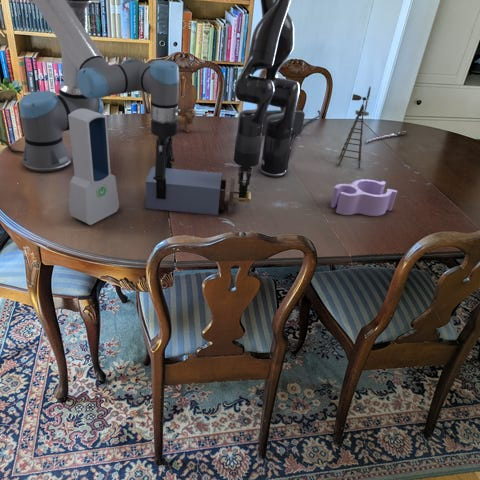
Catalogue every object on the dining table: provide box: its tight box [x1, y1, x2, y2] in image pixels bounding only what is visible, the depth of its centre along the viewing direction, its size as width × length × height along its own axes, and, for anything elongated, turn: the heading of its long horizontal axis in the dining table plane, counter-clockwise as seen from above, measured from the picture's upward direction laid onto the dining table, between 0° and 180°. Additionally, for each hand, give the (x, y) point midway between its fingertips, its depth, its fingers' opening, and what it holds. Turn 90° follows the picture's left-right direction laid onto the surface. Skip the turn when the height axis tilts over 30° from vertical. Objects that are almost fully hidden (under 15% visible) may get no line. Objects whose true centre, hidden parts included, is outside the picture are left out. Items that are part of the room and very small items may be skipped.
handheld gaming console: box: [262, 109, 306, 136], centre depth 203 cm, size 23×3×10 cm, turn 108°
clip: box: [330, 178, 398, 217], centre depth 152 cm, size 20×12×7 cm, turn 109°
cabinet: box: [144, 166, 223, 216], centre depth 143 cm, size 22×11×9 cm, turn 89°
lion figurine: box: [177, 108, 197, 133], centre depth 195 cm, size 15×5×9 cm, turn 110°
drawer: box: [219, 177, 252, 214], centre depth 143 cm, size 26×10×7 cm, turn 89°
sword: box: [365, 132, 406, 144], centre depth 214 cm, size 31×3×1 cm, turn 126°
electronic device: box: [68, 109, 120, 226], centre depth 127 cm, size 12×8×30 cm, turn 148°
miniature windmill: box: [338, 86, 372, 169], centre depth 177 cm, size 9×8×30 cm
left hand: (164, 189), depth 143 cm, fingers closed on cabinet, 11 cm apart
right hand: (241, 200), depth 144 cm, fingers closed
